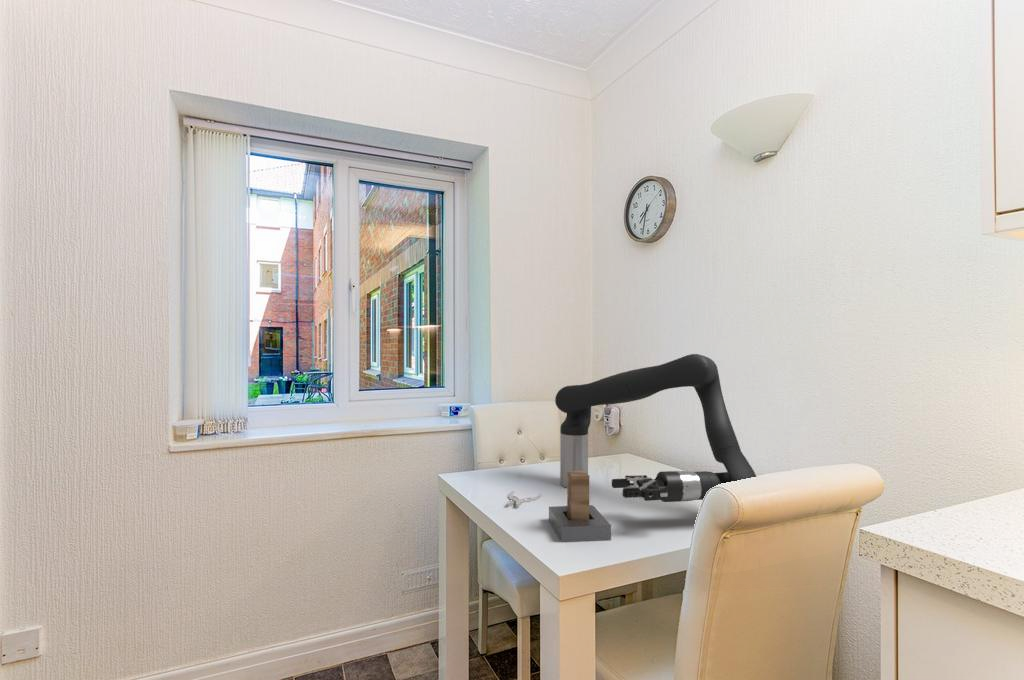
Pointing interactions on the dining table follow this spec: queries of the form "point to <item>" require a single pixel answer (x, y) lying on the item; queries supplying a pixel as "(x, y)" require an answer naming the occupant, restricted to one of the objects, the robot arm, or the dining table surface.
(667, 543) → the dining table surface
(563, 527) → the socket block
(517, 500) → the pliers
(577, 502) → the walnut peg
